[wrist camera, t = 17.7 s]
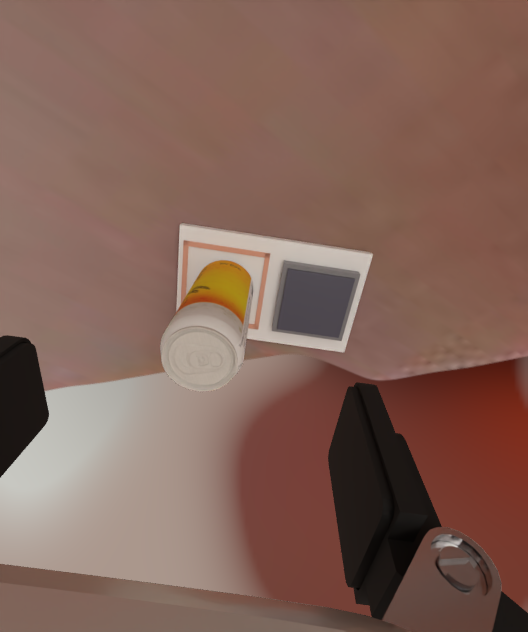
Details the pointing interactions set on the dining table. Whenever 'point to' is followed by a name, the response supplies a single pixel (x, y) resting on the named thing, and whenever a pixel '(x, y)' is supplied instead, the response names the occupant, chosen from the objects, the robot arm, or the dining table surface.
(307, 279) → the stamping board
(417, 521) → the robot arm
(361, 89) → the dining table surface
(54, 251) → the dining table surface
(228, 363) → the beer can
